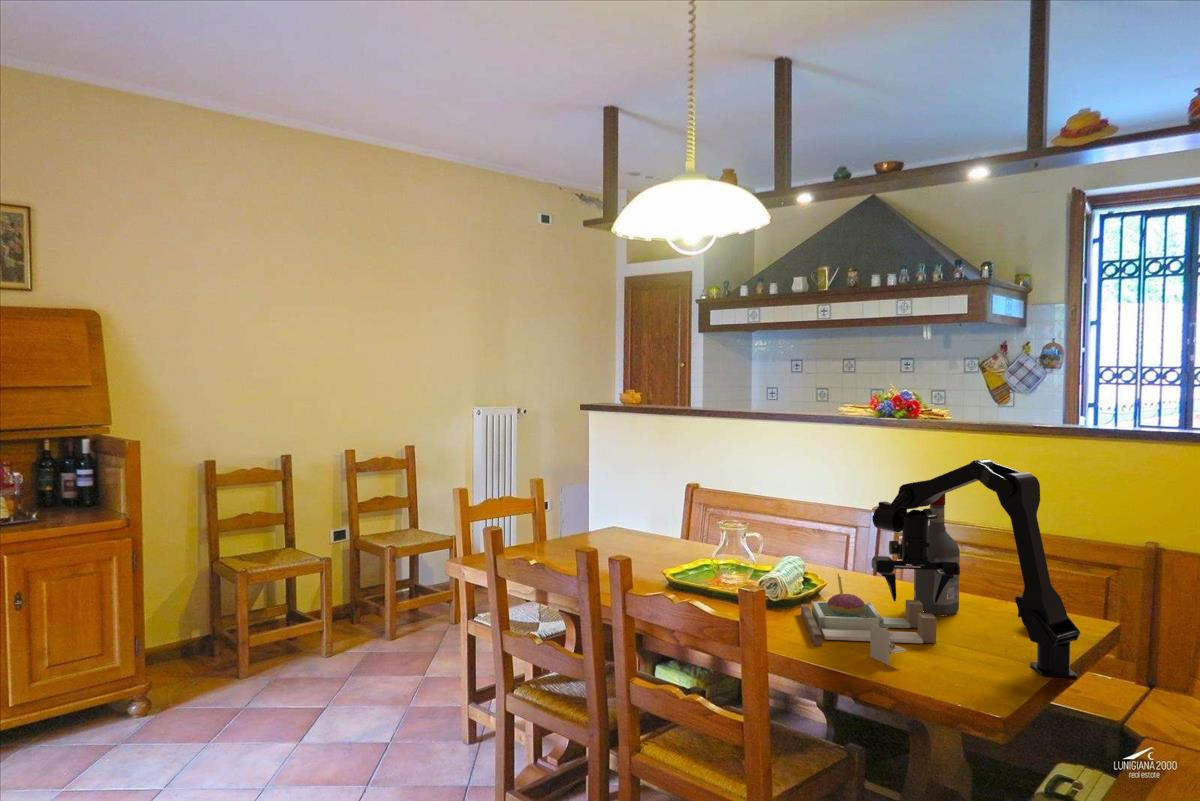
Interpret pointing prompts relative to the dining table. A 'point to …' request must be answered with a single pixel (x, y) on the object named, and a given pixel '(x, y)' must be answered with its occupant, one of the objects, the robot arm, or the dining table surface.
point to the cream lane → (891, 632)
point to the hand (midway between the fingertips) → (914, 601)
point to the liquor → (924, 579)
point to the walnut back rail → (811, 625)
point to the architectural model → (882, 644)
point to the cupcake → (845, 604)
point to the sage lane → (865, 623)
